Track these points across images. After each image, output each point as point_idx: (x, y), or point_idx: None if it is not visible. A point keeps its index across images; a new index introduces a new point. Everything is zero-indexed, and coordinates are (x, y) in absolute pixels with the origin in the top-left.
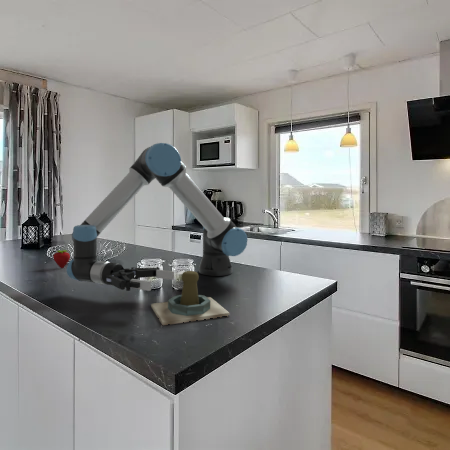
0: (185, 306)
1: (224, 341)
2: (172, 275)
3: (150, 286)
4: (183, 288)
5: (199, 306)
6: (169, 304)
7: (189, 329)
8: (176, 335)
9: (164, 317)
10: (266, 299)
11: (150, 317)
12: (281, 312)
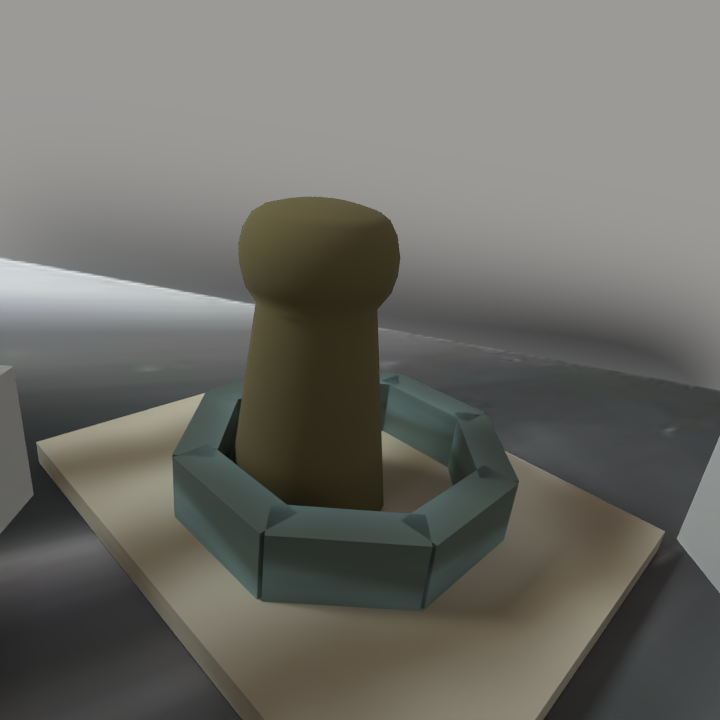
0: (478, 421)
1: (548, 364)
2: (13, 433)
3: (707, 492)
4: (368, 369)
5: (418, 385)
6: (467, 539)
7: (567, 445)
8: (665, 465)
9: (606, 549)
10: (38, 314)
11: (651, 704)
12: (212, 297)
